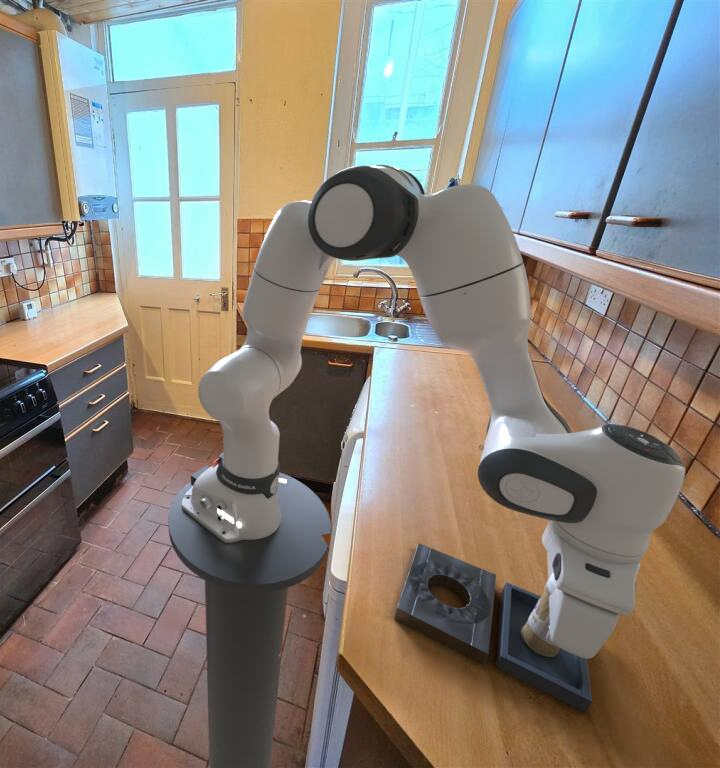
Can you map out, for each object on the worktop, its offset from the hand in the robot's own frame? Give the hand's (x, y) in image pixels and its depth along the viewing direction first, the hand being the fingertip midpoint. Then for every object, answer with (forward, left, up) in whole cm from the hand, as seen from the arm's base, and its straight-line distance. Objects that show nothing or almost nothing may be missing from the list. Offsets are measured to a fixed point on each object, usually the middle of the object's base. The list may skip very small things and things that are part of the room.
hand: (552, 617), depth 57 cm
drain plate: (-12, 0, -6) cm, 14 cm away
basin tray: (0, 0, -6) cm, 6 cm away
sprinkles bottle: (0, 0, -6) cm, 6 cm away
